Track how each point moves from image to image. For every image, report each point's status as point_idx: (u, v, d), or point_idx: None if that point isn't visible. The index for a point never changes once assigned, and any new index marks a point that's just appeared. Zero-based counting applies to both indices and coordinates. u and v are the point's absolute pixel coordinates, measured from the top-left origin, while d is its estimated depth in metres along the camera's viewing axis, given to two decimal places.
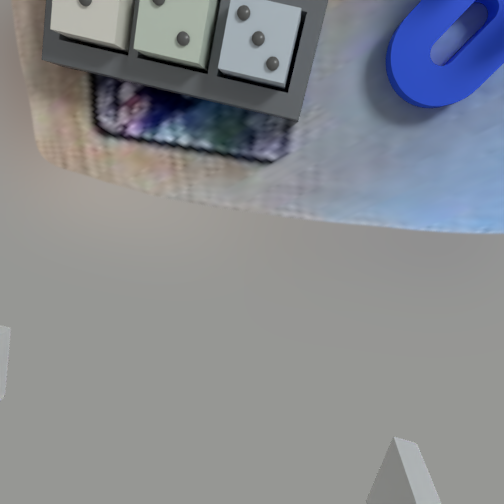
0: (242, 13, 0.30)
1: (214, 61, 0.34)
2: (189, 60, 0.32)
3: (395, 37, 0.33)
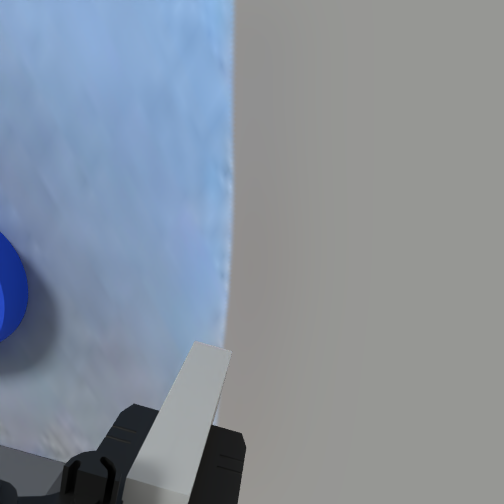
0: None
1: None
2: None
3: None
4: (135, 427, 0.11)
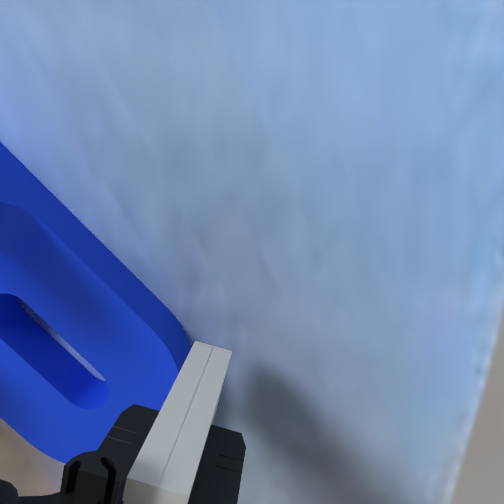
0: None
1: None
2: None
3: (63, 460, 0.18)
4: (135, 427, 0.11)
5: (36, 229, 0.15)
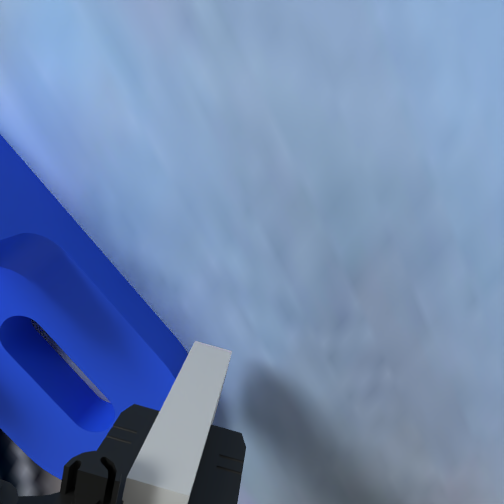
0: None
1: None
2: None
3: None
4: (135, 427, 0.11)
5: (60, 258, 0.15)
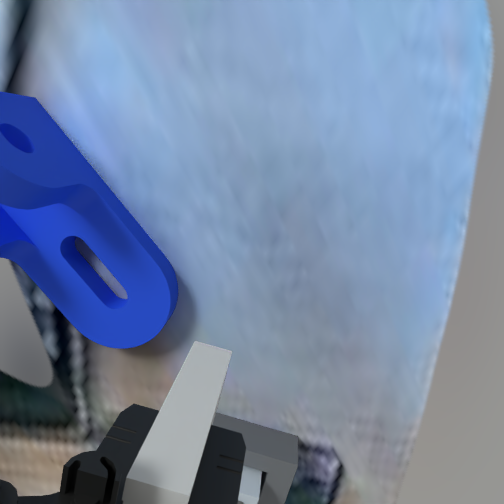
0: None
1: None
2: None
3: (94, 340, 0.30)
4: (135, 427, 0.11)
5: (97, 200, 0.27)
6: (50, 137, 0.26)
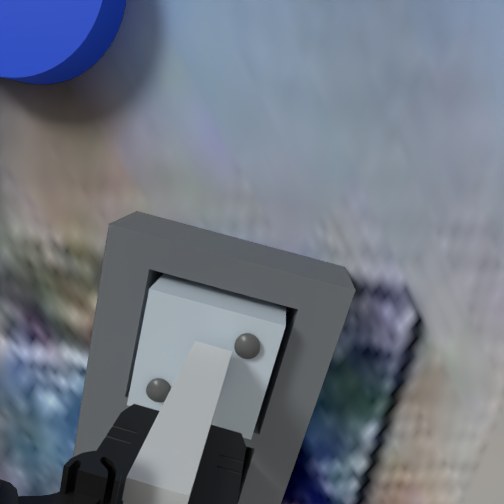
0: (159, 393, 0.16)
1: None
2: None
3: None
4: (135, 427, 0.11)
5: None
6: None
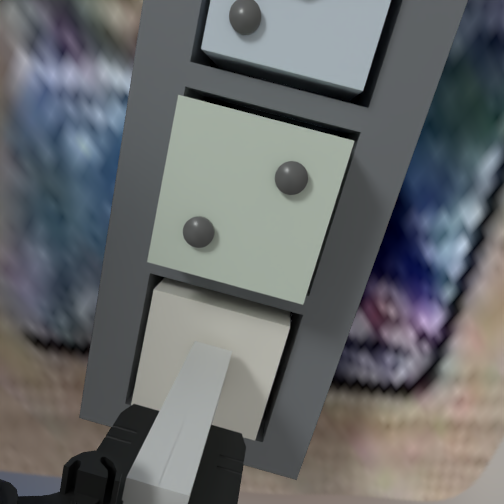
0: (246, 19, 0.12)
1: (333, 112, 0.13)
2: (344, 165, 0.12)
3: None
4: (135, 427, 0.11)
5: None
6: None
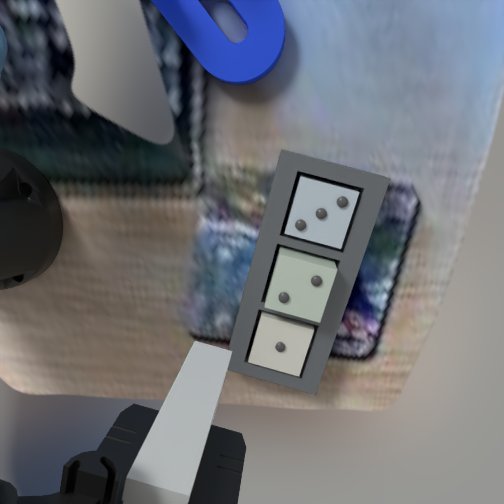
0: (301, 226, 0.37)
1: (330, 253, 0.38)
2: (334, 277, 0.36)
3: (217, 76, 0.36)
4: (135, 427, 0.11)
5: None
6: None
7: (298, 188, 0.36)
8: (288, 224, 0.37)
